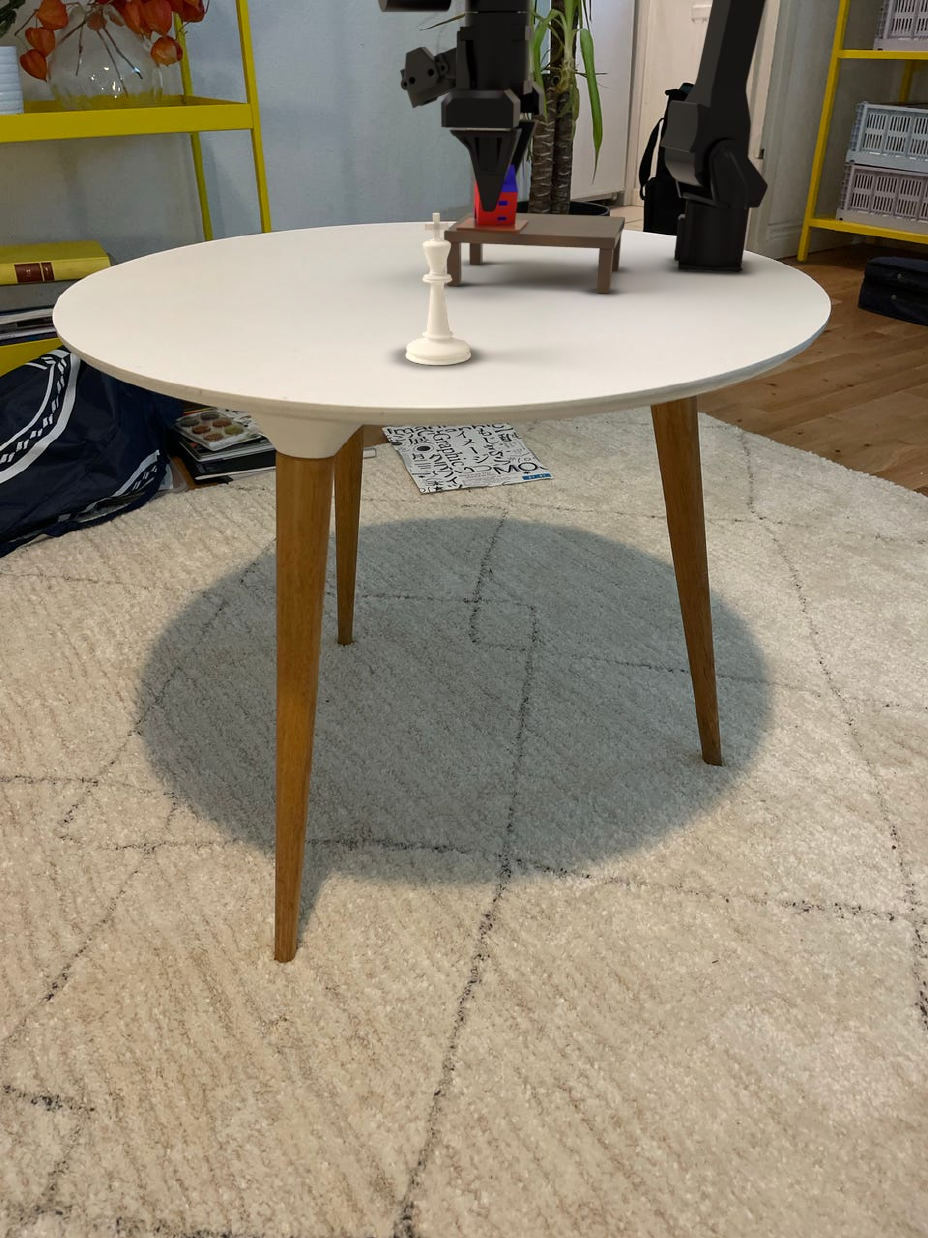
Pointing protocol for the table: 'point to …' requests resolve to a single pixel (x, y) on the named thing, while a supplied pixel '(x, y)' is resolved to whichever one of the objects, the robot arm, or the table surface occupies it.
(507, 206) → the toy building block
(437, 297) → the chess piece
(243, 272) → the table surface
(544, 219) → the miniature wooden table
